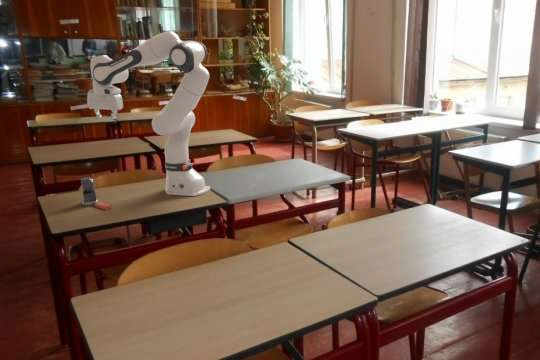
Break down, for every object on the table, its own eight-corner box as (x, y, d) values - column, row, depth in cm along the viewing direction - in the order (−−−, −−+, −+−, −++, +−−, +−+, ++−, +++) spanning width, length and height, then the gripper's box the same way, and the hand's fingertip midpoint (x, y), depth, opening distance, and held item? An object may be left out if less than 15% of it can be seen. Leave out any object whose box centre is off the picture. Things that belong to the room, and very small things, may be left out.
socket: (83, 199, 215) (80, 178, 212) (95, 197, 217) (92, 176, 214) (84, 202, 211) (81, 181, 208) (96, 200, 213) (93, 179, 210)
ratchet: (79, 204, 214) (77, 194, 212) (92, 200, 219) (91, 190, 218) (102, 211, 203) (100, 201, 202) (115, 206, 209) (114, 197, 208)
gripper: (82, 90, 230) (86, 118, 234) (113, 91, 221) (117, 120, 225) (92, 88, 235) (95, 116, 239) (123, 89, 226) (126, 118, 230)
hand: (106, 118), depth 232 cm, fingers open, 8 cm apart
